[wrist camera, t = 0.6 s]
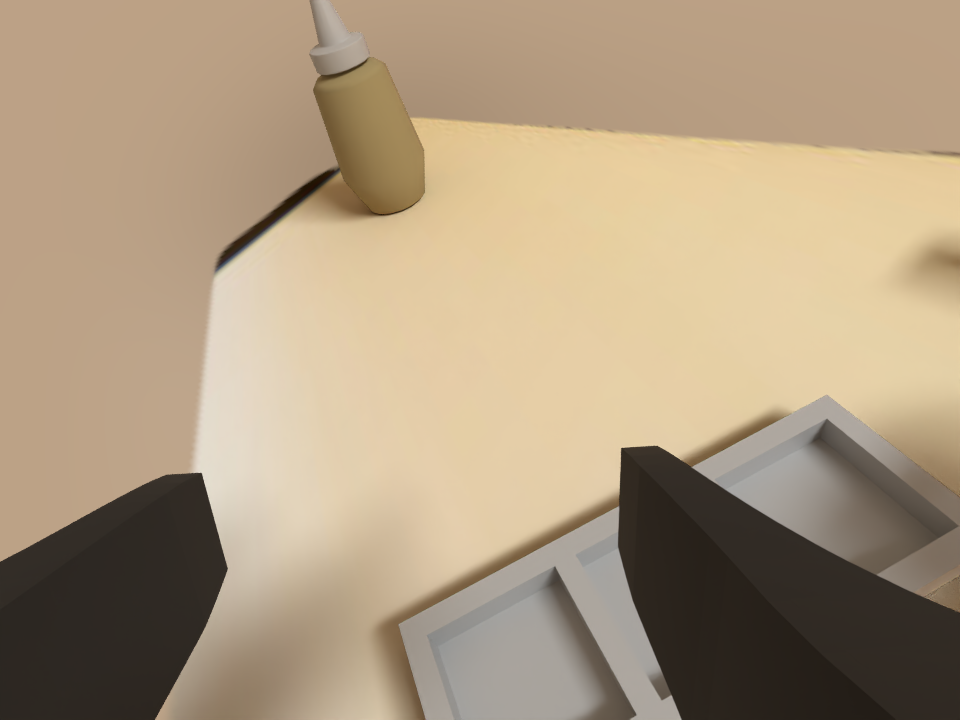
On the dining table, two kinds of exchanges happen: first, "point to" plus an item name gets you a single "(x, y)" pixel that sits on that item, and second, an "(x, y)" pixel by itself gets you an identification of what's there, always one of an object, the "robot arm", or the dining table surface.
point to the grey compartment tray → (607, 599)
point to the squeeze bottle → (365, 117)
